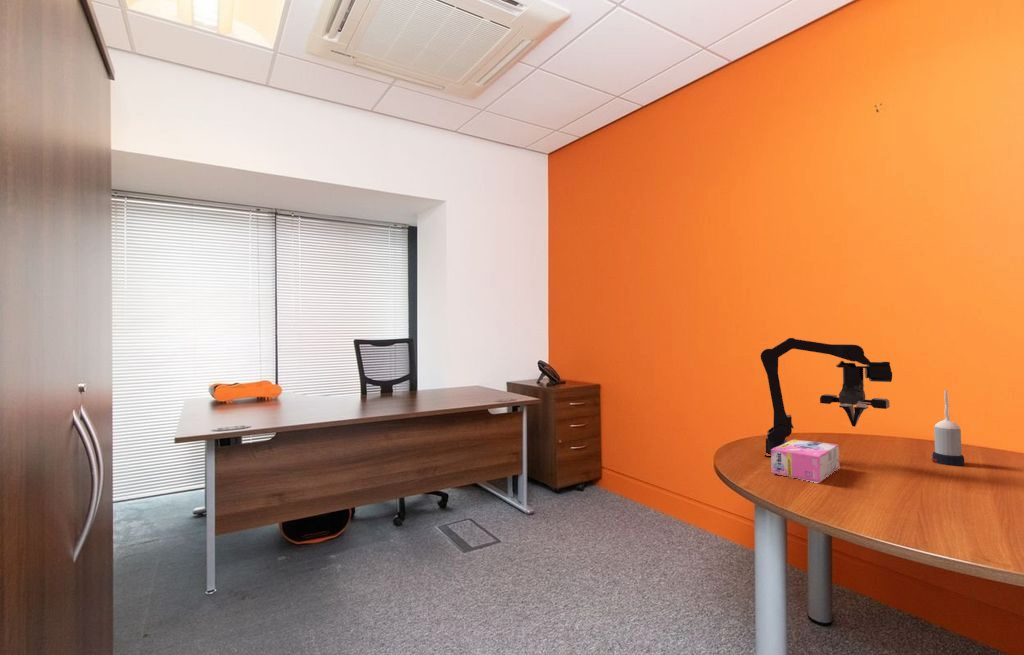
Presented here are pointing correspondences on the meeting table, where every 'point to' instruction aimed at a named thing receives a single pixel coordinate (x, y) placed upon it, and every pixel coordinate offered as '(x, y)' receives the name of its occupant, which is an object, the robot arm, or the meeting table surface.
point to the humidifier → (947, 441)
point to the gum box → (805, 459)
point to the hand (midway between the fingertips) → (854, 426)
